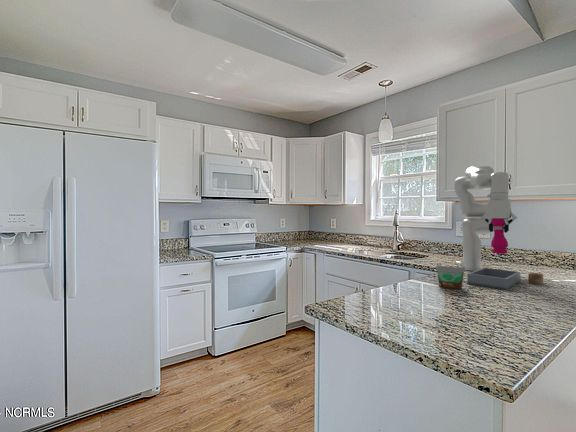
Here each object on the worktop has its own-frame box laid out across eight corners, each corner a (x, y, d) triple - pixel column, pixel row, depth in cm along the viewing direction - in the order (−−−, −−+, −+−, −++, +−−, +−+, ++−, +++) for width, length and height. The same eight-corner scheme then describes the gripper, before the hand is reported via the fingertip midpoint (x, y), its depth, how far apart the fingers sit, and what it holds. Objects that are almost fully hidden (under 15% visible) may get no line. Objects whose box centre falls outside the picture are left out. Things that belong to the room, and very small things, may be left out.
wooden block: (528, 283, 152) (528, 273, 152) (530, 282, 155) (530, 272, 155) (541, 285, 148) (541, 275, 148) (543, 283, 152) (543, 273, 152)
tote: (467, 283, 150) (467, 273, 150) (483, 276, 167) (484, 267, 167) (506, 290, 138) (506, 279, 138) (520, 281, 155) (520, 272, 155)
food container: (434, 288, 140) (435, 266, 140) (435, 285, 146) (435, 264, 146) (465, 291, 134) (466, 268, 134) (465, 288, 140) (465, 266, 140)
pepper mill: (508, 253, 151) (506, 213, 151) (490, 253, 155) (489, 214, 155) (508, 252, 156) (506, 213, 157) (491, 252, 161) (490, 214, 161)
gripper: (477, 196, 160) (477, 231, 160) (518, 195, 147) (517, 233, 147) (482, 197, 165) (481, 231, 165) (521, 196, 152) (520, 232, 152)
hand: (498, 231), depth 156 cm, fingers closed on pepper mill, 5 cm apart
